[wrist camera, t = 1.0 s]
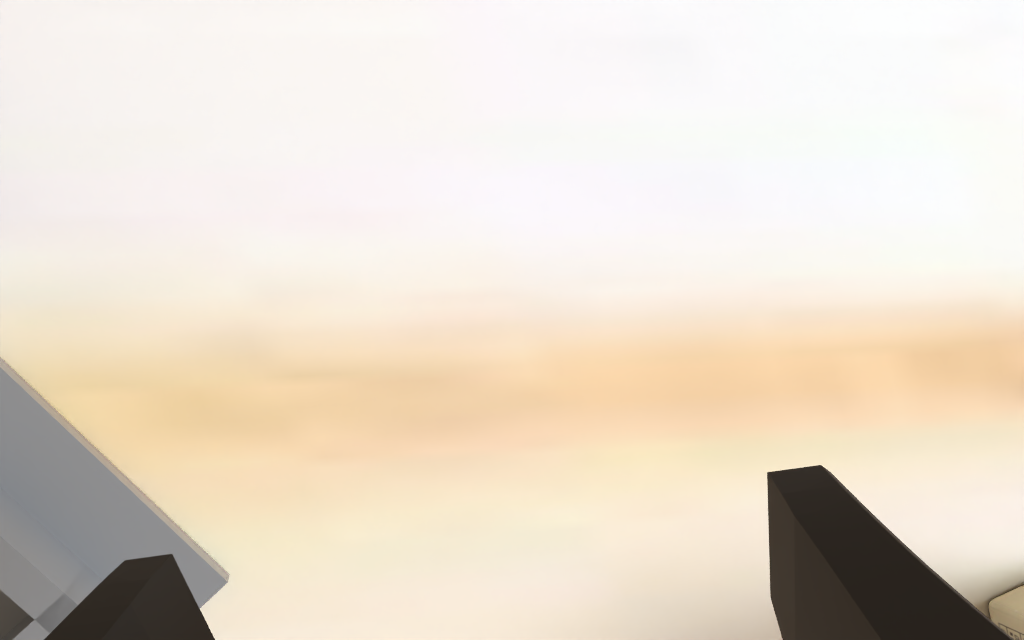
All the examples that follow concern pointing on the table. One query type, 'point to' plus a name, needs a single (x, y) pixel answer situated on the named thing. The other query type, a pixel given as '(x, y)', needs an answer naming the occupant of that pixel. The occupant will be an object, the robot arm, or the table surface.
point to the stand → (71, 519)
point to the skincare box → (1009, 612)
